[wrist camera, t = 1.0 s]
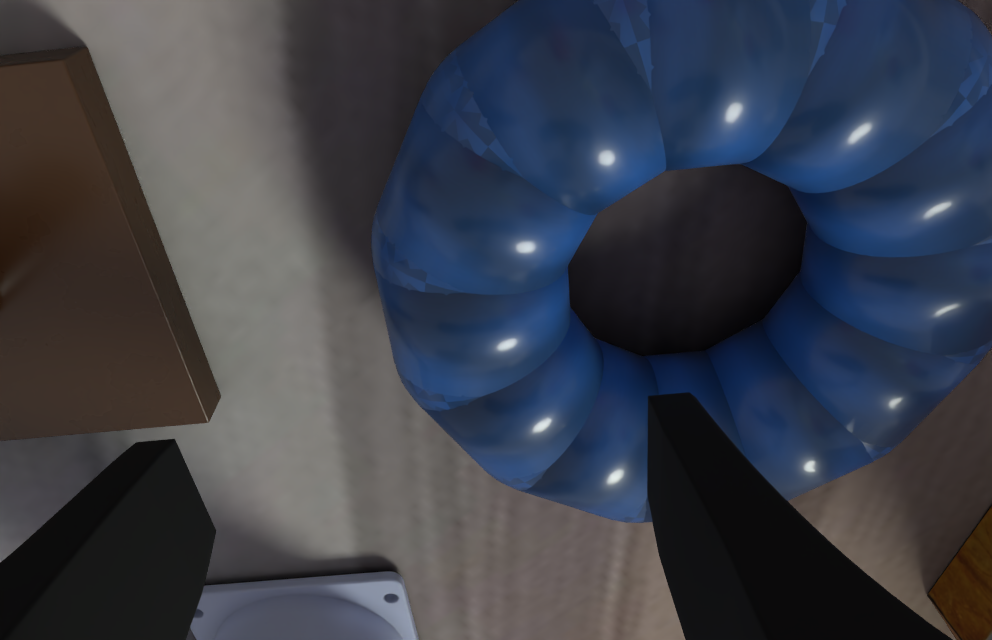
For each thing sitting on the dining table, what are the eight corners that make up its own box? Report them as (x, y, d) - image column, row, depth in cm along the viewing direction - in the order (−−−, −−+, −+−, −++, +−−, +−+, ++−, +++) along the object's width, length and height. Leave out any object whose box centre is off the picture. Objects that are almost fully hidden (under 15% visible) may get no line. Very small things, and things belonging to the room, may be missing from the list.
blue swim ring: (898, 420, 23) (978, 532, 19) (432, 459, 24) (423, 575, 20) (1036, -123, 15) (1214, -109, 11) (333, -43, 16) (287, -6, 12)
